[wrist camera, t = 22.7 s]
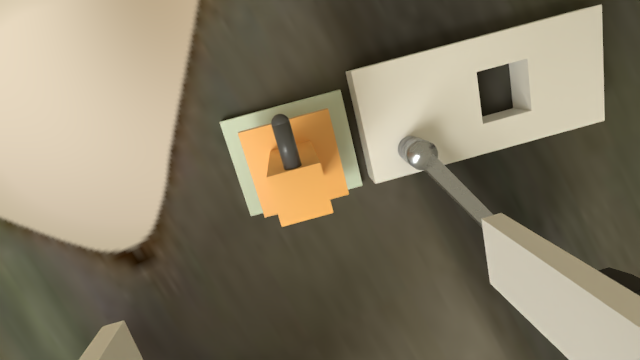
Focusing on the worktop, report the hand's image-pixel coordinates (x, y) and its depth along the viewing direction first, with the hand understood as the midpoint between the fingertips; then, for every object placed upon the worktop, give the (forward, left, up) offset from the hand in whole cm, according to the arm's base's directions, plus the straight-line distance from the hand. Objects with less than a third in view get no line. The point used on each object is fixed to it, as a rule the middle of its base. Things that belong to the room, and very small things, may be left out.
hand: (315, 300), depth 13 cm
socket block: (+19, +1, -26) cm, 32 cm away
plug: (0, 0, -25) cm, 25 cm away
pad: (0, 0, -26) cm, 26 cm away
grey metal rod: (+16, -9, -21) cm, 28 cm away
